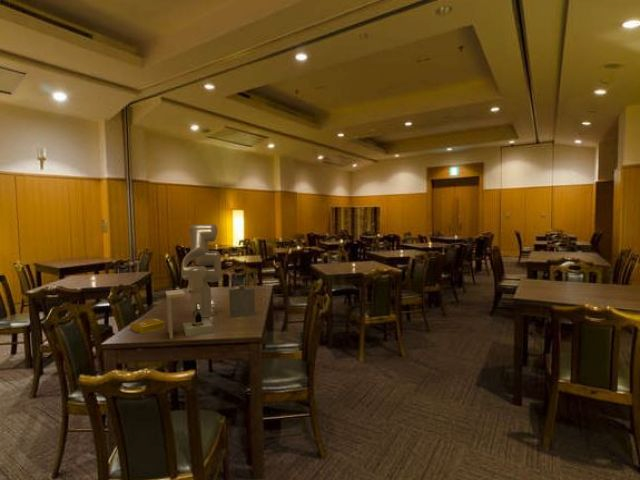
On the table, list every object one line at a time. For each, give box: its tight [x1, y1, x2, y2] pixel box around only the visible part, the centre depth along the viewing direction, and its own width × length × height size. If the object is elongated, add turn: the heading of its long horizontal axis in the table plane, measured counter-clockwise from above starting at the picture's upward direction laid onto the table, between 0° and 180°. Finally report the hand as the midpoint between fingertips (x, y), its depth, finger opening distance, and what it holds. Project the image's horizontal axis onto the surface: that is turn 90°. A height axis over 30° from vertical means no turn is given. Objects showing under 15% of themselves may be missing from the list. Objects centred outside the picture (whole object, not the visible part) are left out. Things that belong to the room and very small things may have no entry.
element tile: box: [129, 317, 166, 335], centre depth 225 cm, size 15×15×5 cm
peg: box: [192, 311, 201, 326], centre depth 216 cm, size 4×4×12 cm
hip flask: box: [228, 284, 256, 318], centre depth 248 cm, size 16×4×20 cm, turn 103°
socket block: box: [165, 289, 213, 340], centre depth 214 cm, size 14×22×24 cm, turn 115°
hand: (197, 320), depth 216 cm, fingers open, 9 cm apart
